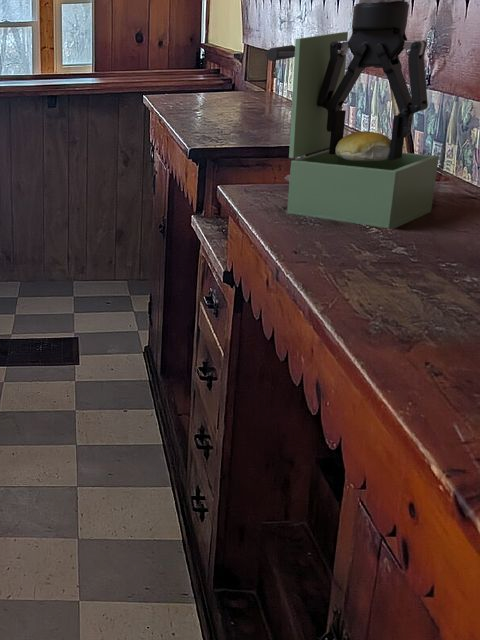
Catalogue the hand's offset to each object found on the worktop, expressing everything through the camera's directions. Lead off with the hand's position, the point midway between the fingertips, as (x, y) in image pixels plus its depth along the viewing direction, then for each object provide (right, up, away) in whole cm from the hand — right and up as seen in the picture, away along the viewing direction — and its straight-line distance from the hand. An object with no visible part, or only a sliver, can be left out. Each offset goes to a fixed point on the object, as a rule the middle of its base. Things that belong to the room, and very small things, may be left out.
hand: (364, 155), depth 136 cm
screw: (-3, -1, +22) cm, 22 cm away
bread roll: (0, 0, 0) cm, 0 cm away
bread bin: (+1, -9, +4) cm, 9 cm away
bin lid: (-6, +10, +2) cm, 12 cm away
